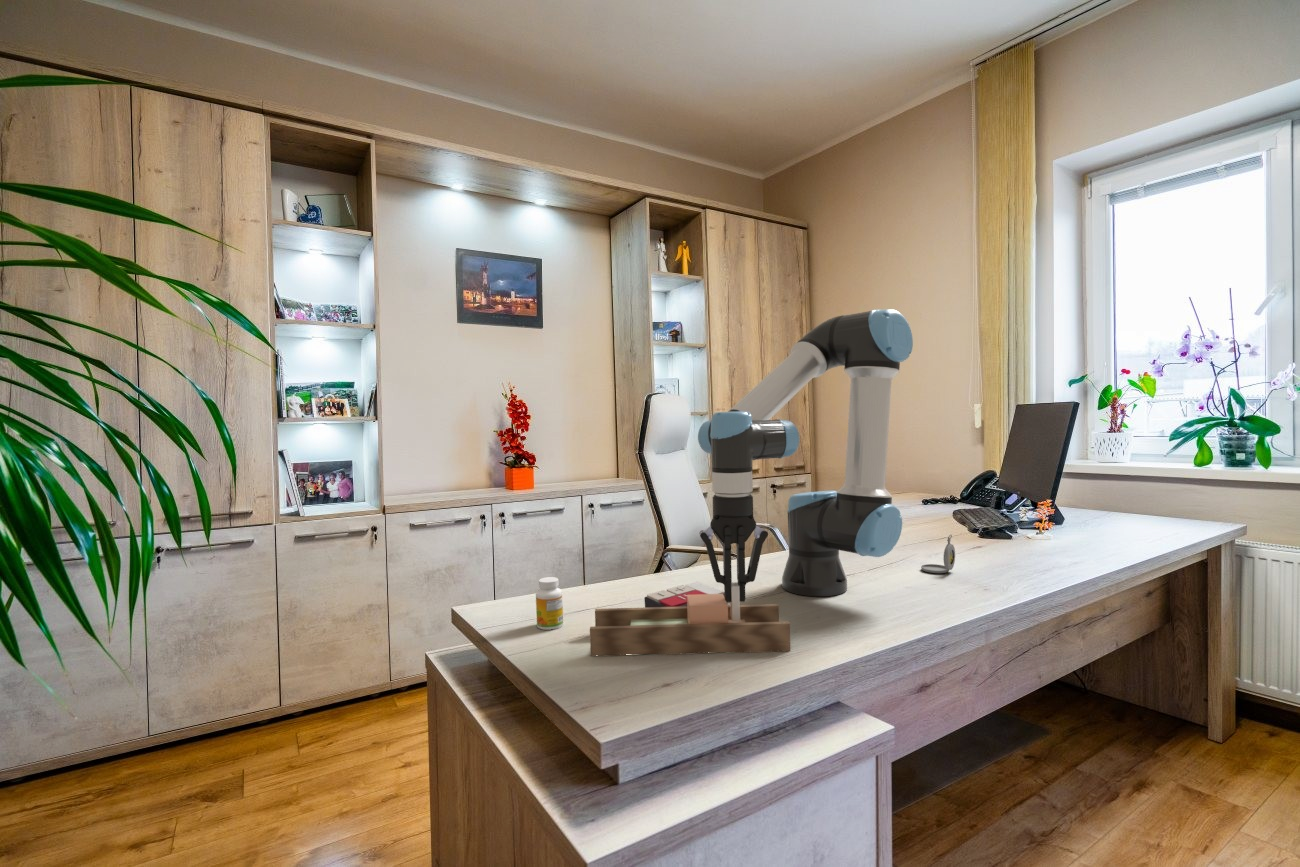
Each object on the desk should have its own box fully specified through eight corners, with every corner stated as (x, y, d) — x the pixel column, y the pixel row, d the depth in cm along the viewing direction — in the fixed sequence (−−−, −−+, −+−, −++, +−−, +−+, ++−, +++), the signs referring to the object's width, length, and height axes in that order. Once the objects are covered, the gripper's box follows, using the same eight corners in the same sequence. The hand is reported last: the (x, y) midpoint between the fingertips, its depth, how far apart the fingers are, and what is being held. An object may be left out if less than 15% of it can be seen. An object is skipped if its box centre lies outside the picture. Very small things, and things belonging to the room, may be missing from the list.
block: (723, 619, 125) (723, 593, 124) (728, 631, 118) (727, 605, 117) (687, 620, 125) (687, 594, 124) (690, 633, 118) (689, 606, 117)
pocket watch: (918, 567, 170) (917, 530, 169) (951, 568, 168) (951, 530, 168) (927, 576, 162) (926, 536, 161) (962, 576, 160) (962, 536, 160)
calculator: (643, 593, 142) (697, 578, 150) (644, 612, 142) (699, 596, 150) (670, 606, 133) (727, 589, 141) (672, 626, 133) (728, 608, 141)
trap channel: (778, 628, 127) (777, 604, 127) (790, 651, 116) (789, 623, 115) (596, 633, 127) (595, 608, 127) (590, 656, 116) (589, 628, 116)
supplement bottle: (534, 624, 134) (532, 578, 134) (559, 620, 136) (557, 574, 136) (540, 632, 129) (538, 584, 129) (566, 627, 131) (564, 580, 131)
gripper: (763, 490, 124) (766, 611, 125) (696, 492, 124) (699, 613, 125) (771, 495, 116) (773, 624, 117) (699, 497, 116) (702, 626, 117)
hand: (735, 618), depth 121 cm, fingers closed
